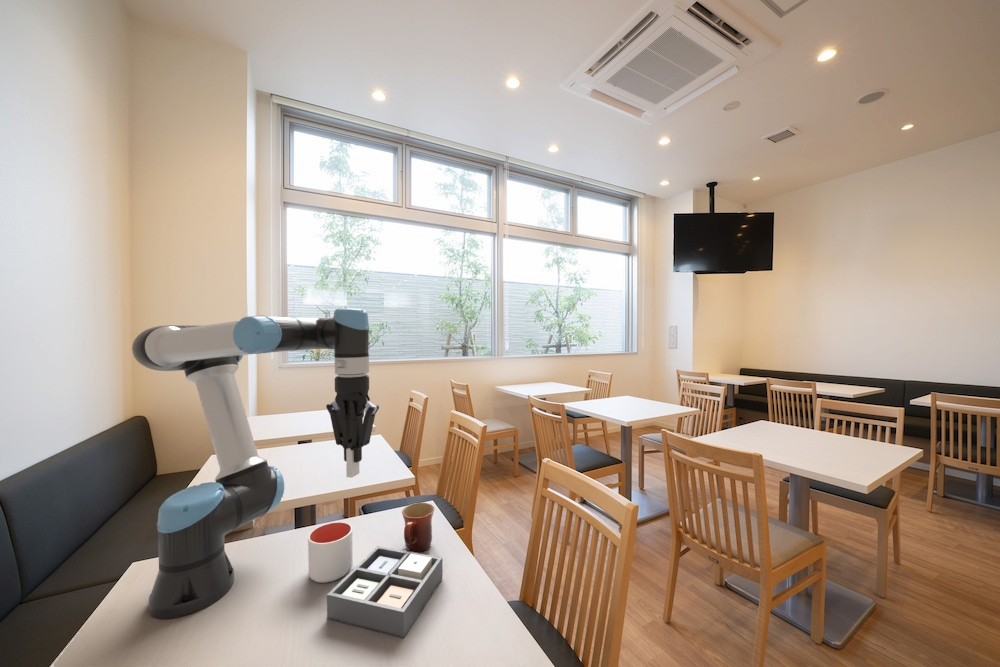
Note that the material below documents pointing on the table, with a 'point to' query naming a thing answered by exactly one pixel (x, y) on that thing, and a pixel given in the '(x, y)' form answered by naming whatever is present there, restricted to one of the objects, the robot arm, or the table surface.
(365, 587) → the sage key
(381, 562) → the slate key
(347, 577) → the grey compartment tray
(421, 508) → the mug
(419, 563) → the cream key
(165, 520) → the robot arm
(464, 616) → the table surface
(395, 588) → the terracotta key
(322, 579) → the cup
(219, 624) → the table surface
